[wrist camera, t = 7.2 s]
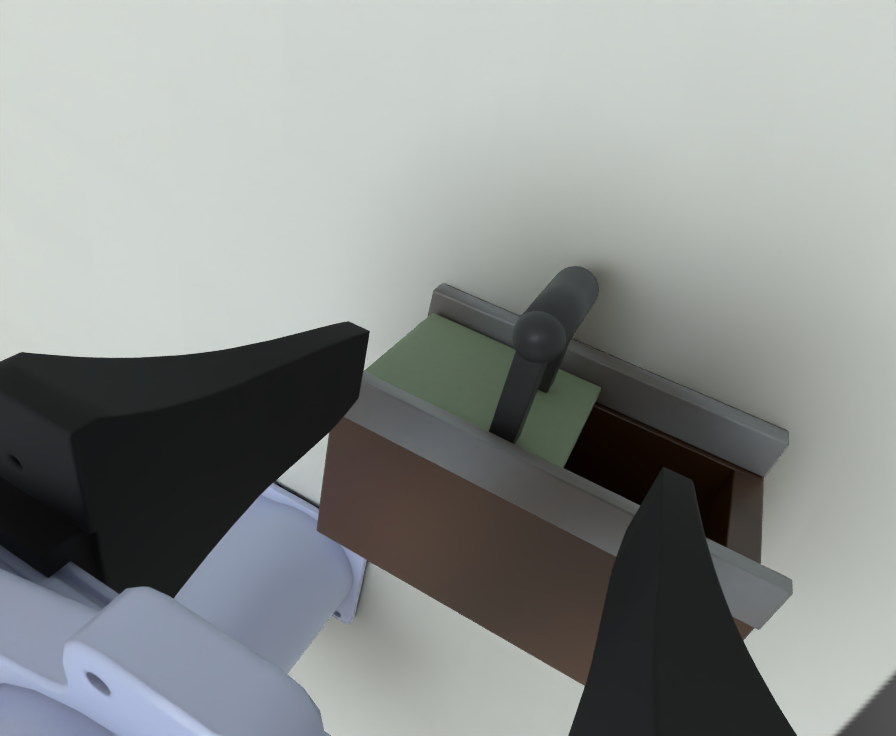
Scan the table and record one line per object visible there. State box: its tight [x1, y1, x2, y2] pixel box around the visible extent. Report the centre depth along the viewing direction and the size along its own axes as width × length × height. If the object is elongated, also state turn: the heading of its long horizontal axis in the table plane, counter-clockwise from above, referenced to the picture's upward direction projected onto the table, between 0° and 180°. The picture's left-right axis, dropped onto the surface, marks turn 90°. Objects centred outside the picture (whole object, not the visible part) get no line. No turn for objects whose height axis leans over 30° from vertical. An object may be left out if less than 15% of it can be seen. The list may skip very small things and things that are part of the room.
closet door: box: [365, 266, 601, 468], centre depth 18 cm, size 7×5×6 cm
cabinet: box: [316, 284, 793, 686], centre depth 21 cm, size 13×8×7 cm, turn 76°
